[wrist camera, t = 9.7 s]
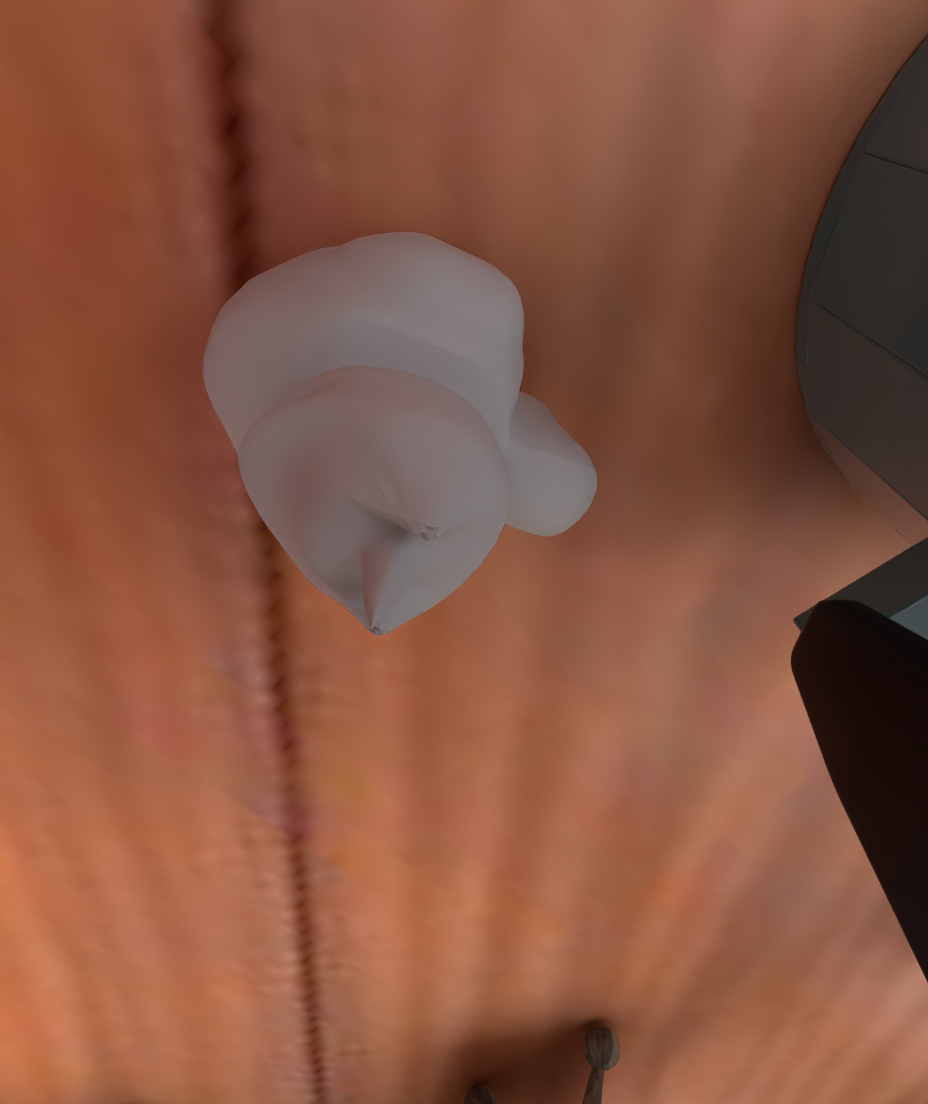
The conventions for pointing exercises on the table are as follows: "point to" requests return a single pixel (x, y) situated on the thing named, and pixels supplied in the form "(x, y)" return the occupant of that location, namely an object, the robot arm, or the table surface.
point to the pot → (876, 337)
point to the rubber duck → (389, 420)
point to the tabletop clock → (598, 1052)
